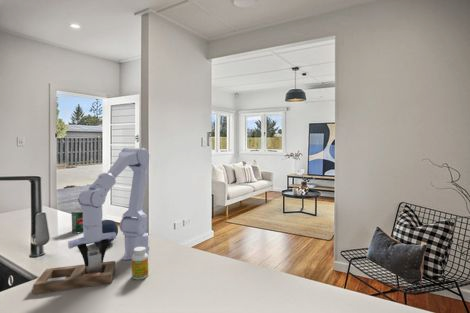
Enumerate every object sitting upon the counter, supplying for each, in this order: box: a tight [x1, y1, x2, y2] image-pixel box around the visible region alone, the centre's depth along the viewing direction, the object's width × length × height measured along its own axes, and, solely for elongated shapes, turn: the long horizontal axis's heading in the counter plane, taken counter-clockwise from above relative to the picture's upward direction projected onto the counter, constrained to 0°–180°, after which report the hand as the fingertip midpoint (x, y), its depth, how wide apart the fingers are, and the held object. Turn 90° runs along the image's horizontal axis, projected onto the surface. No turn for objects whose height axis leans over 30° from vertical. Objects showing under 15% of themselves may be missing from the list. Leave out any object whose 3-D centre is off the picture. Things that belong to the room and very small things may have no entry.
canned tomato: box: [70, 208, 83, 233], centre depth 145 cm, size 8×8×11 cm
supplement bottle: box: [131, 247, 149, 280], centre depth 96 cm, size 5×5×10 cm
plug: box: [86, 248, 102, 274], centre depth 95 cm, size 4×4×7 cm
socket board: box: [32, 260, 116, 295], centre depth 94 cm, size 22×11×3 cm, turn 107°
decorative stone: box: [94, 219, 119, 246], centre depth 127 cm, size 12×12×10 cm
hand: (93, 263), depth 95 cm, fingers closed on plug, 4 cm apart
